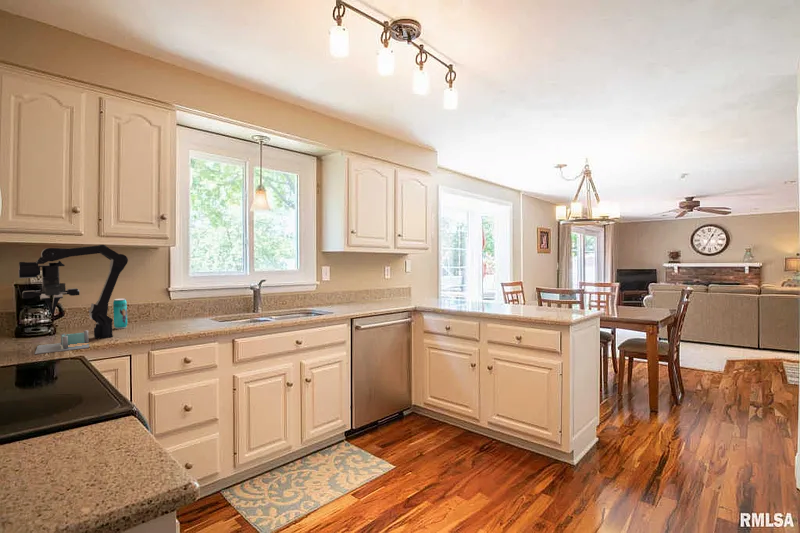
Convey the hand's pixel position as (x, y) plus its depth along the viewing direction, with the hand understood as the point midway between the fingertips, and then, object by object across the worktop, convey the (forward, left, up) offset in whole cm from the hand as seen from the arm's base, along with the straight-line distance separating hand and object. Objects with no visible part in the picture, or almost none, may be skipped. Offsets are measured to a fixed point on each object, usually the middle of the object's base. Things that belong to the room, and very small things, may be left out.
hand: (52, 313), depth 182 cm
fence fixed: (-8, +10, -13) cm, 18 cm away
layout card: (-4, +12, -13) cm, 18 cm away
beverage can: (-26, -24, -13) cm, 38 cm away
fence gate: (-4, +14, -12) cm, 19 cm away
